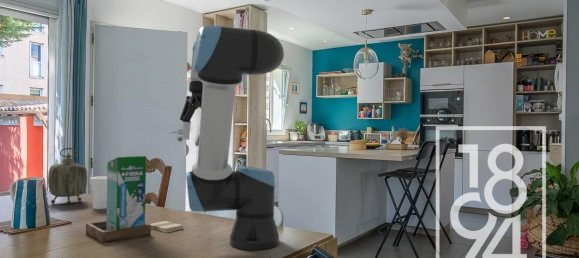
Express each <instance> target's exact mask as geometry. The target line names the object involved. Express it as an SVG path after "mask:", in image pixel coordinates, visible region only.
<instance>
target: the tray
mask: <svg viewBox="0 0 579 258" xmlns="http://www.w3.org/2000/svg"><path fill="white" fill-rule="evenodd" d="M150 224H151V223H148V222H145V225H142V226H136V227H129V228H123V229H116V230H110V231H106V220H101V221H100V220H99V221H94V222H86V223H85V234H86V236H88V237H90V238H92V239H93V240H95V241H97V242H99V243H100V244H102V245H103V244H104V243H105V244H110V243H115V242H116V243H117V242H121V241H127V240H132V239H137V238H144V237H149V236H151V235H152V234H151V233H152V229H151V225H150Z"/></svg>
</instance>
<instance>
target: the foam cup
mask: <svg viewBox="0 0 579 258" xmlns="http://www.w3.org/2000/svg"><path fill="white" fill-rule="evenodd" d="M89 184H90V191H91V199H92V209H94V210H106V208H107V175H105V176H104V175H102V176H99V175H98V176H92V177H91V176H90V177H89Z"/></svg>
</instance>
